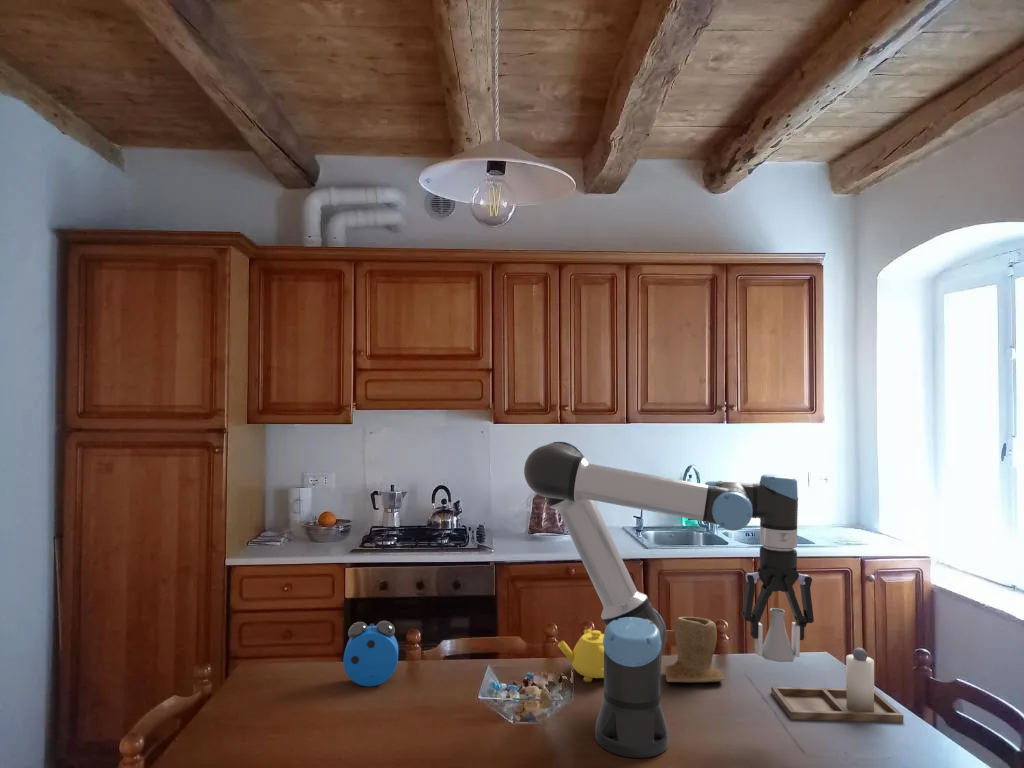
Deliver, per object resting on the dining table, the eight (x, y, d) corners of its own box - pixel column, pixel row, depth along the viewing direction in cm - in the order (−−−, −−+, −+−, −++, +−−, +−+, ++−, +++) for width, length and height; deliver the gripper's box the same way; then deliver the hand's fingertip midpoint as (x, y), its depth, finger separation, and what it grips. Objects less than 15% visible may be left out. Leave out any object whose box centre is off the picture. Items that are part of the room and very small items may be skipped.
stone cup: (712, 668, 178) (712, 611, 179) (728, 687, 166) (728, 626, 167) (655, 669, 177) (655, 611, 178) (667, 688, 166) (668, 627, 166)
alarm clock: (398, 676, 172) (398, 616, 172) (397, 686, 166) (398, 625, 166) (345, 679, 170) (346, 618, 170) (342, 689, 164) (343, 627, 164)
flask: (798, 665, 141) (799, 617, 142) (761, 661, 143) (762, 614, 143) (791, 652, 149) (791, 606, 149) (756, 649, 150) (757, 603, 150)
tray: (791, 722, 149) (791, 712, 149) (771, 696, 162) (771, 686, 162) (903, 725, 148) (903, 715, 148) (874, 699, 161) (874, 689, 161)
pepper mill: (853, 713, 152) (853, 652, 152) (842, 701, 157) (842, 643, 158) (878, 713, 151) (878, 652, 152) (866, 702, 157) (866, 643, 157)
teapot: (586, 659, 184) (586, 618, 184) (631, 672, 175) (631, 629, 175) (555, 676, 172) (556, 632, 173) (602, 691, 164) (602, 645, 164)
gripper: (736, 549, 143) (734, 659, 142) (833, 552, 142) (831, 662, 141) (726, 541, 150) (725, 645, 150) (818, 544, 149) (817, 649, 149)
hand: (776, 653), depth 146 cm, fingers closed on flask, 7 cm apart
